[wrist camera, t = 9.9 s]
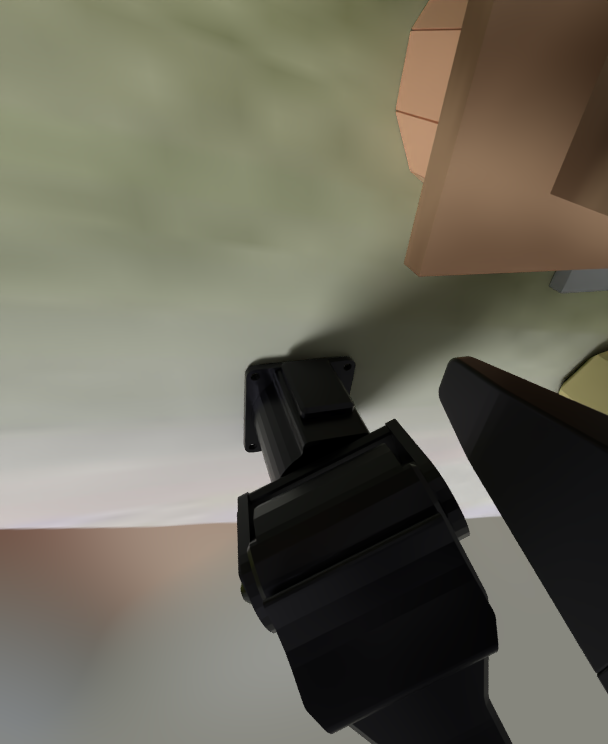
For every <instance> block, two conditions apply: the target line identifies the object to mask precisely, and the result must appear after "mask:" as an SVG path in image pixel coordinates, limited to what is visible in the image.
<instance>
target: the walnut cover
mask: <svg viewBox="0 0 608 744" xmlns="http://www.w3.org/2000/svg"><path fill="white" fill-rule="evenodd" d="M404 264H405V265H406V266H407V267H408V268H410V269H411V270H412V271H413V272H414V273H415V274H417V275H418V276H419V277H421V276H444V275H468V274H491V273H514V272H538V271H561V270H584V269H608V0H468V4H467V8H466V12H465V16H464V20H463V24H462V28H461V32H460V36H459V40H458V44H457V48H456V53H455V57H454V61H453V65H452V69H451V73H450V77H449V81H448V85H447V89H446V93H445V97H444V102H443V106H442V110H441V114H440V118H439V122H438V126H437V130H436V134H435V138H434V142H433V146H432V151H431V155H430V159H429V163H428V167H427V171H426V175H425V179H424V183H423V187H422V191H421V195H420V200H419V204H418V208H417V212H416V216H415V220H414V224H413V228H412V232H411V236H410V240H409V244H408V249H407V253H406V257H405V261H404Z"/></svg>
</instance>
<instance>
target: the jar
mask: <svg viewBox="0 0 608 744" xmlns="http://www.w3.org/2000/svg"><path fill="white" fill-rule="evenodd" d="M559 394H560V395H562V396H564V397H567V398H569V399H571V400H574V401H576V402H578V403H581V404H583V405H585V406H588V407H590V408H592V409H595V410H597V411H599V412H602V413H604V414H606V415H608V351H606V352H603V353H600V354H598V355H595V356H593V357H591V358H590V359H589V360H588V361H587V362H585V363H584V364H583V365H582V366H581V367H580V368H579V369H578V370H577V371H576V372H575V373H574V374H573V375H572V376H570V377H569V378H568V379H567V380H566V381H565V382H564V383H563V385H562V387H561V389H560V391H559Z"/></svg>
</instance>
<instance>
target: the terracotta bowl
mask: <svg viewBox="0 0 608 744" xmlns="http://www.w3.org/2000/svg"><path fill="white" fill-rule="evenodd" d="M467 4H468V0H429V1H428V3H427V4H426V6H425V8H424V9H423V11H422V12H421V14H420V16H419V17H418V19H417V20H416V22H415V24H414V25H413V27H412V28H411V29H412V30H413V31H410V36H409V42H408V47H407V52H406V57H405V63H404V68H403V73H402V78H401V84H400V89H399V94H398V99H397V105H396V110H397V111H396V115H397V119H398V124H399V128H400V132H401V136H402V140H403V144H404V148H405V152H406V157H407V161H408V165H409V169H410V171H411V172H412V173H413V174H414V175H415V176H416V177H417V178H418V179H419V180H421V181H422V182H423V183H424V179H425V175H426V171H427V167H428V163H429V159H430V155H431V151H432V146H433V142H434V138H435V134H436V130H437V126H438V122H439V118H440V114H441V110H442V106H443V102H444V97H445V93H446V89H447V85H448V81H449V77H450V73H451V69H452V65H453V61H454V57H455V53H456V48H457V44H458V40H459V36H460V32H461V28H462V24H463V20H464V16H465V12H466V8H467Z"/></svg>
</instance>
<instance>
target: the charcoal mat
mask: <svg viewBox="0 0 608 744" xmlns="http://www.w3.org/2000/svg"><path fill="white" fill-rule="evenodd" d="M549 287H551V288H553V289H554V290H556V291H558V292H559V293H575V292H591V291H607V290H608V269H584V270H561V271H556V272H555V274H554V276H553V279H552V281H551V283H550V285H549Z"/></svg>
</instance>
